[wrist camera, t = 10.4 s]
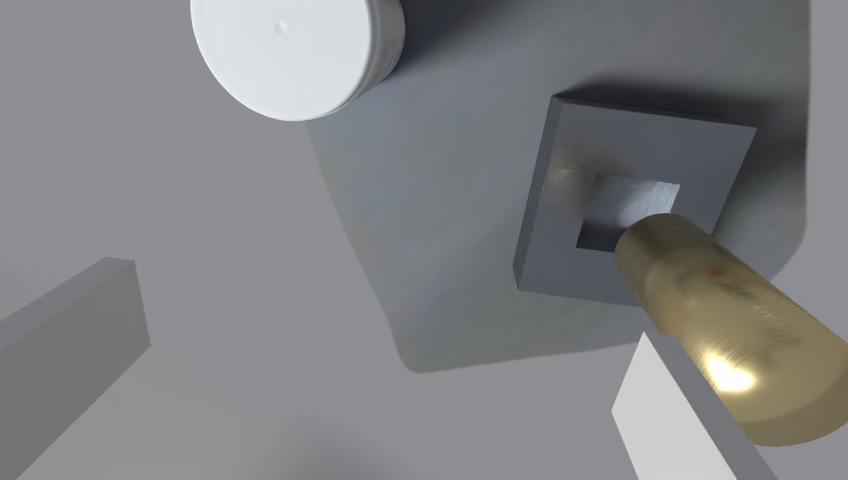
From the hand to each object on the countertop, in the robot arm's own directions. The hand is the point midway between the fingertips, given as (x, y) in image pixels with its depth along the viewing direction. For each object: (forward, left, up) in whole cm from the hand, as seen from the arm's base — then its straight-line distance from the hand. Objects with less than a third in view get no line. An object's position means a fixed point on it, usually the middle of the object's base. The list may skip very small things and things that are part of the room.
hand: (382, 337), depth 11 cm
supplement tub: (-7, -8, -29) cm, 31 cm away
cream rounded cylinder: (+4, +16, -18) cm, 24 cm away
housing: (+4, +16, -29) cm, 33 cm away
